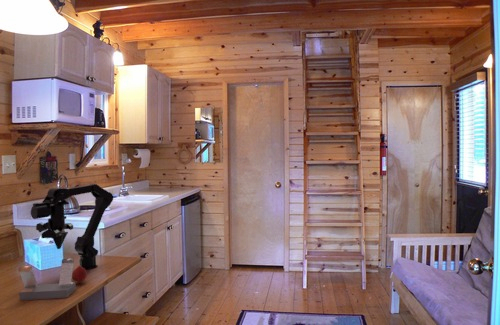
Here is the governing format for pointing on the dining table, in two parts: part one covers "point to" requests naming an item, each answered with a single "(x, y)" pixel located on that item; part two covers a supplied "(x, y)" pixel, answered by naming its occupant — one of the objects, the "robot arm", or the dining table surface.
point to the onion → (79, 274)
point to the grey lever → (66, 271)
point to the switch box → (47, 291)
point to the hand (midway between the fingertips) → (58, 248)
